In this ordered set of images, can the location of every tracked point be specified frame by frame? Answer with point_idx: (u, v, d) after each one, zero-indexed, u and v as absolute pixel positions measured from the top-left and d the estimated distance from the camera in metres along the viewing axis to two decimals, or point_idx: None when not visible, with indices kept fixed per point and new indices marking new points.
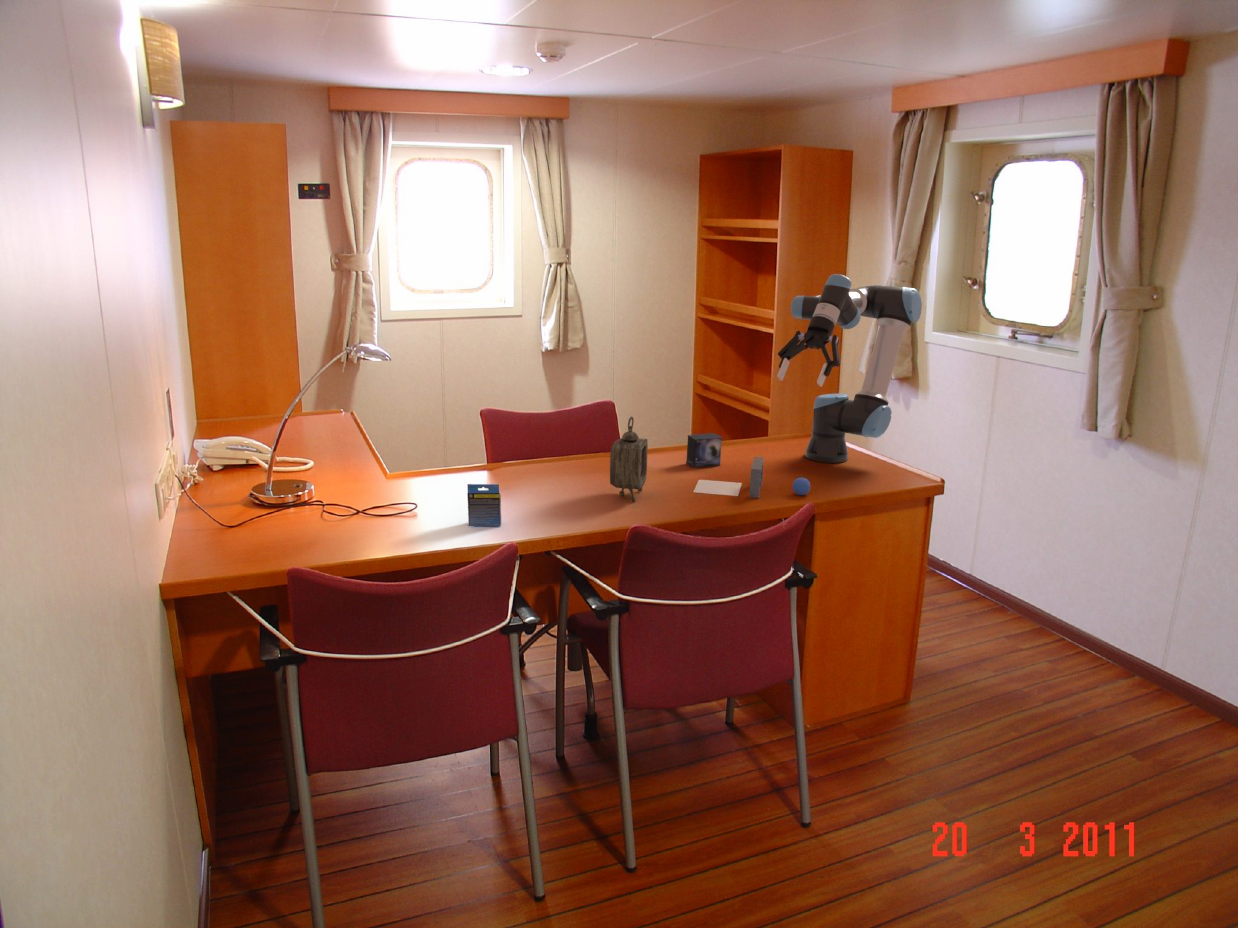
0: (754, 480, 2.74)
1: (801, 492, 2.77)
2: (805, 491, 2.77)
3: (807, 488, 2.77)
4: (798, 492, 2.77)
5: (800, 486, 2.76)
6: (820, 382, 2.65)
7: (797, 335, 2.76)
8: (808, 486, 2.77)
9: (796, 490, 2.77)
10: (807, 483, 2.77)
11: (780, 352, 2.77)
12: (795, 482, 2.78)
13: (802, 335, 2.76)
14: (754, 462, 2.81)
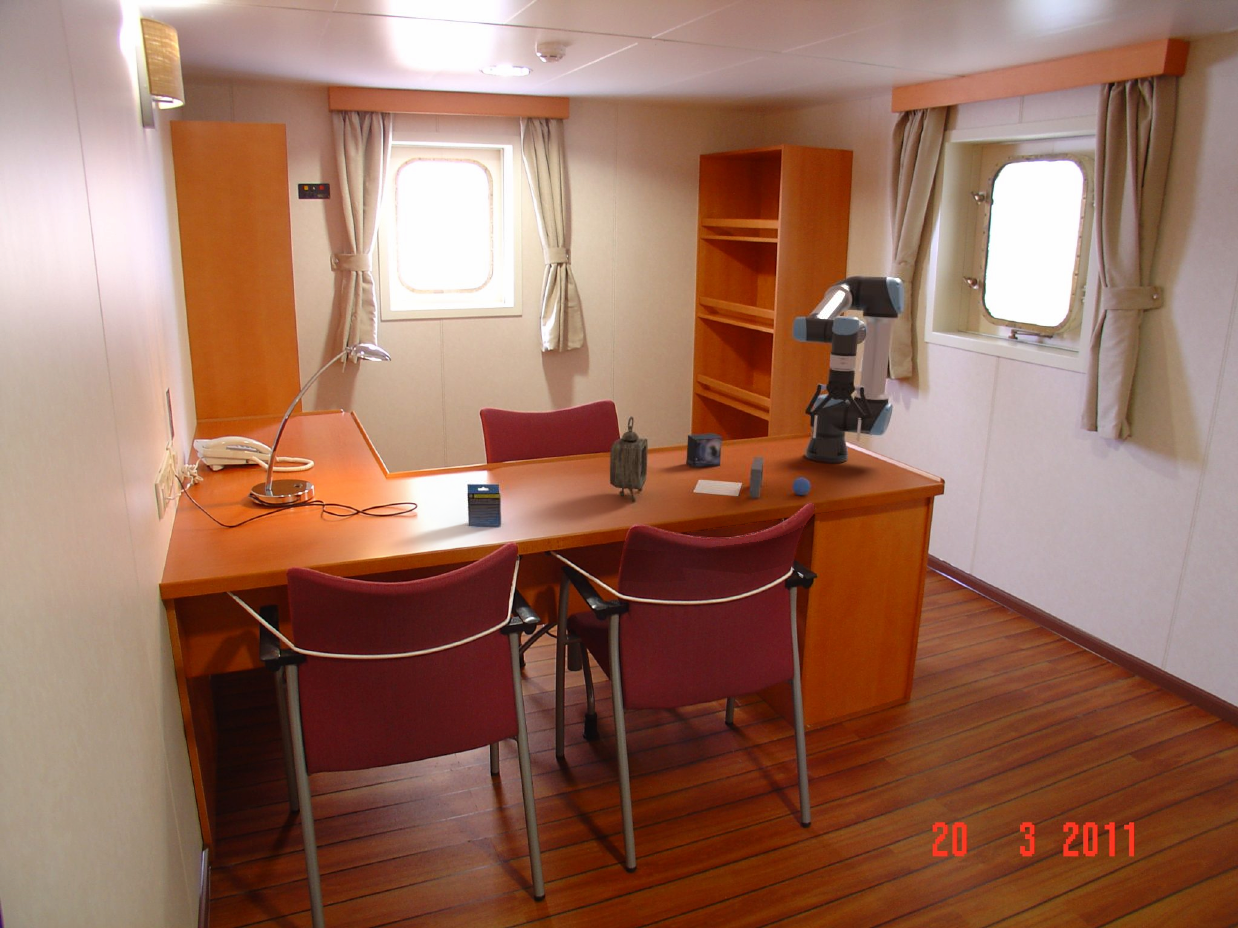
0: (754, 480, 2.74)
1: (801, 492, 2.77)
2: (805, 491, 2.77)
3: (807, 488, 2.77)
4: (798, 492, 2.77)
5: (800, 486, 2.76)
6: None
7: (820, 390, 2.69)
8: (808, 486, 2.77)
9: (796, 490, 2.77)
10: (807, 483, 2.77)
11: (807, 410, 2.71)
12: (795, 482, 2.78)
13: (824, 387, 2.69)
14: (754, 462, 2.81)
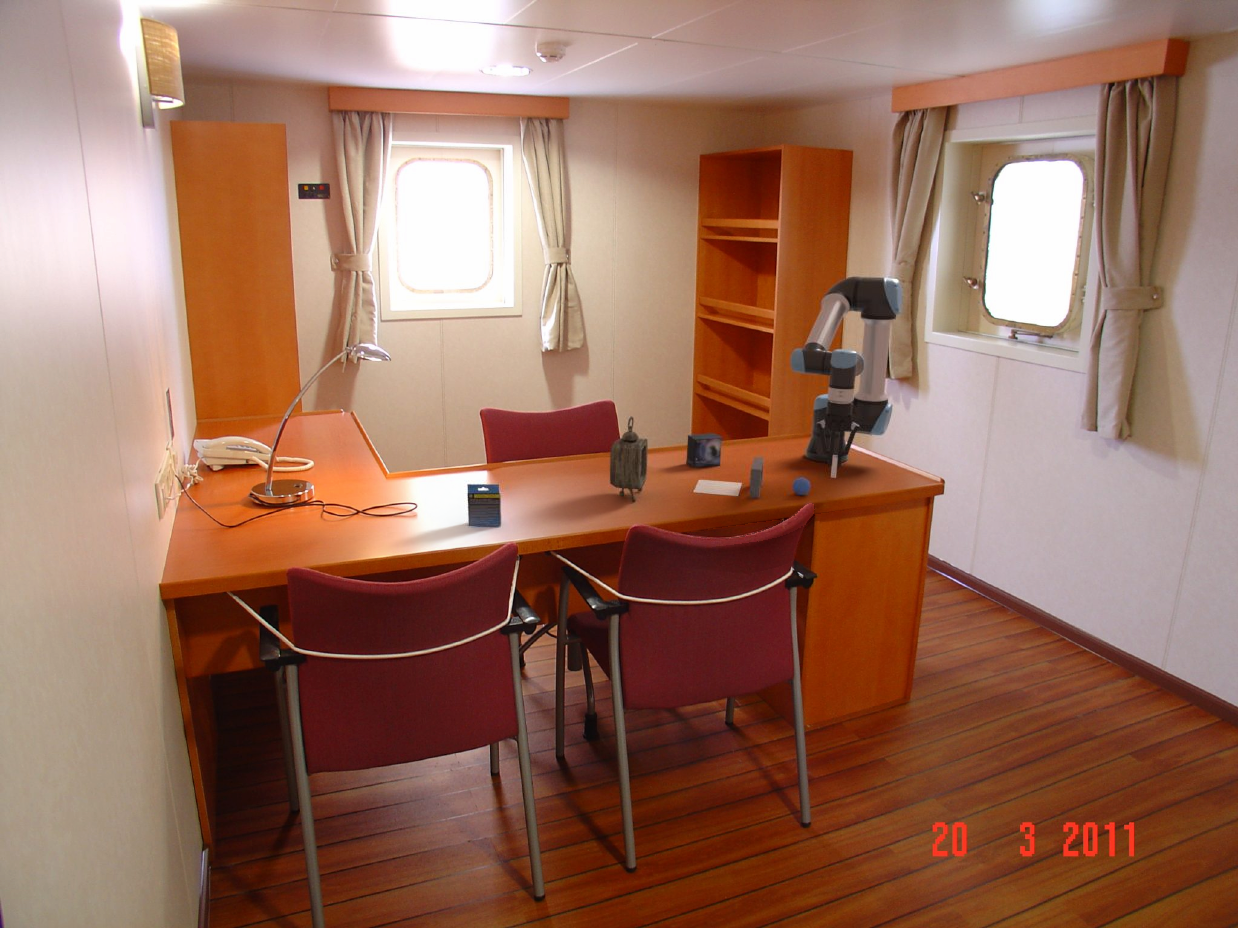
0: (754, 480, 2.74)
1: (801, 492, 2.77)
2: (805, 491, 2.77)
3: (807, 488, 2.77)
4: (798, 492, 2.77)
5: (800, 486, 2.76)
6: None
7: (821, 427, 2.71)
8: (808, 486, 2.77)
9: (796, 490, 2.77)
10: (807, 483, 2.77)
11: (825, 450, 2.73)
12: (795, 482, 2.78)
13: (823, 423, 2.72)
14: (754, 462, 2.81)
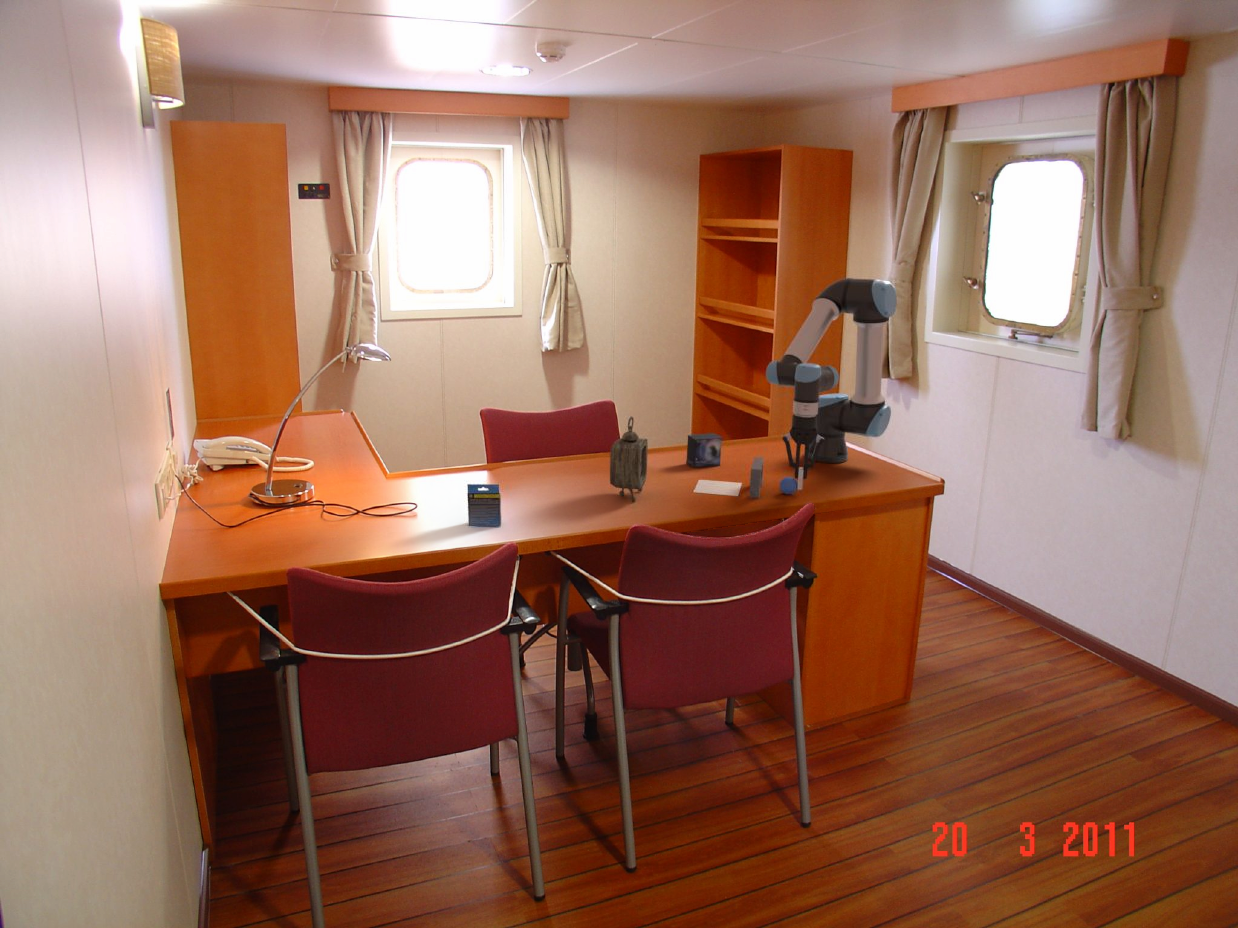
0: (754, 480, 2.74)
1: (791, 490, 2.77)
2: (793, 486, 2.77)
3: (792, 483, 2.77)
4: (789, 492, 2.78)
5: (785, 487, 2.77)
6: None
7: (787, 440, 2.74)
8: (792, 481, 2.77)
9: (787, 492, 2.78)
10: (789, 480, 2.77)
11: (791, 463, 2.76)
12: (780, 487, 2.79)
13: (789, 436, 2.75)
14: (754, 462, 2.81)
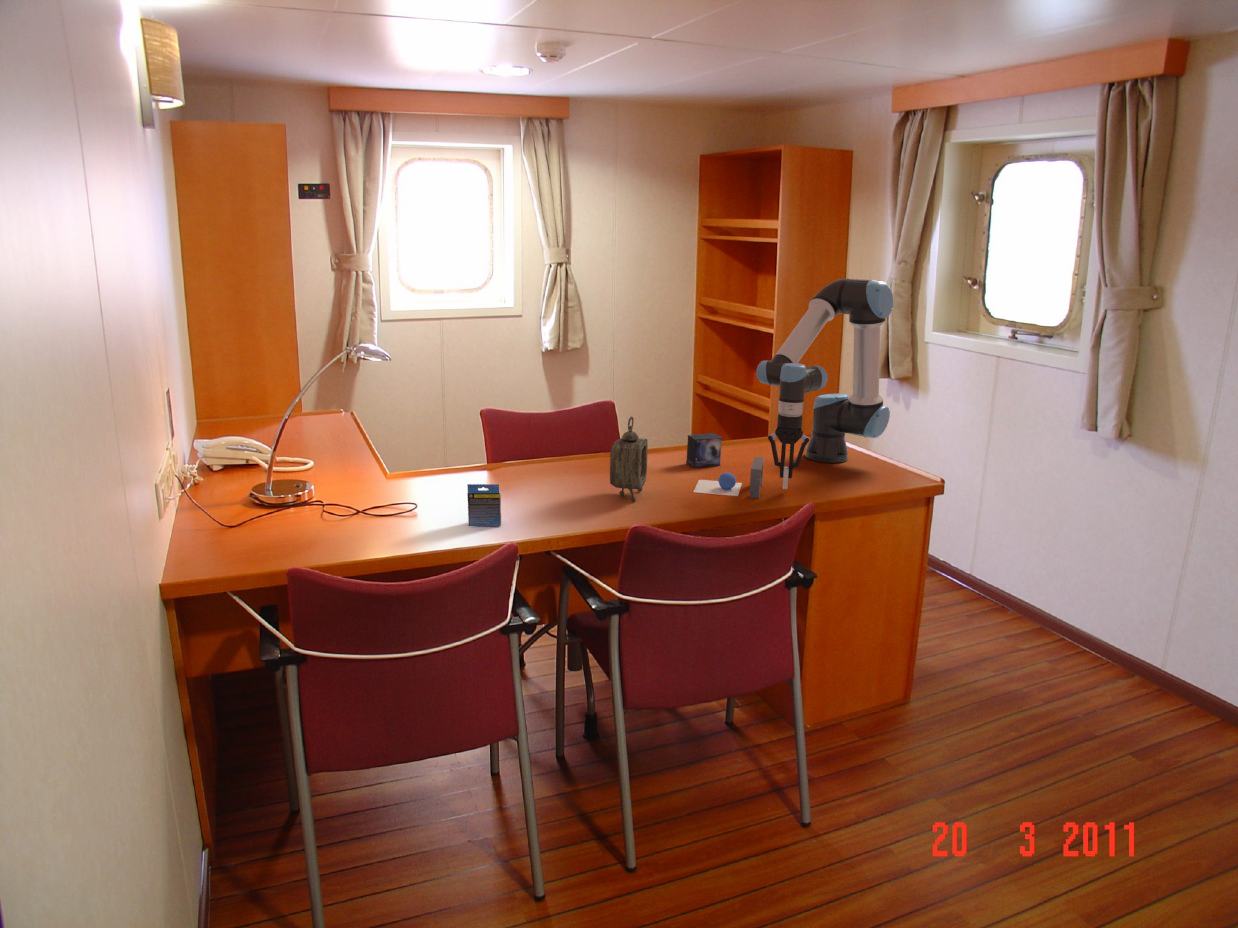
0: (754, 480, 2.74)
1: (730, 484, 2.81)
2: (730, 480, 2.81)
3: (728, 477, 2.81)
4: (730, 486, 2.81)
5: (723, 483, 2.81)
6: (787, 486, 2.79)
7: (772, 440, 2.76)
8: (727, 475, 2.81)
9: (727, 488, 2.81)
10: (723, 476, 2.81)
11: (776, 462, 2.77)
12: (720, 486, 2.83)
13: (774, 435, 2.76)
14: (754, 462, 2.81)
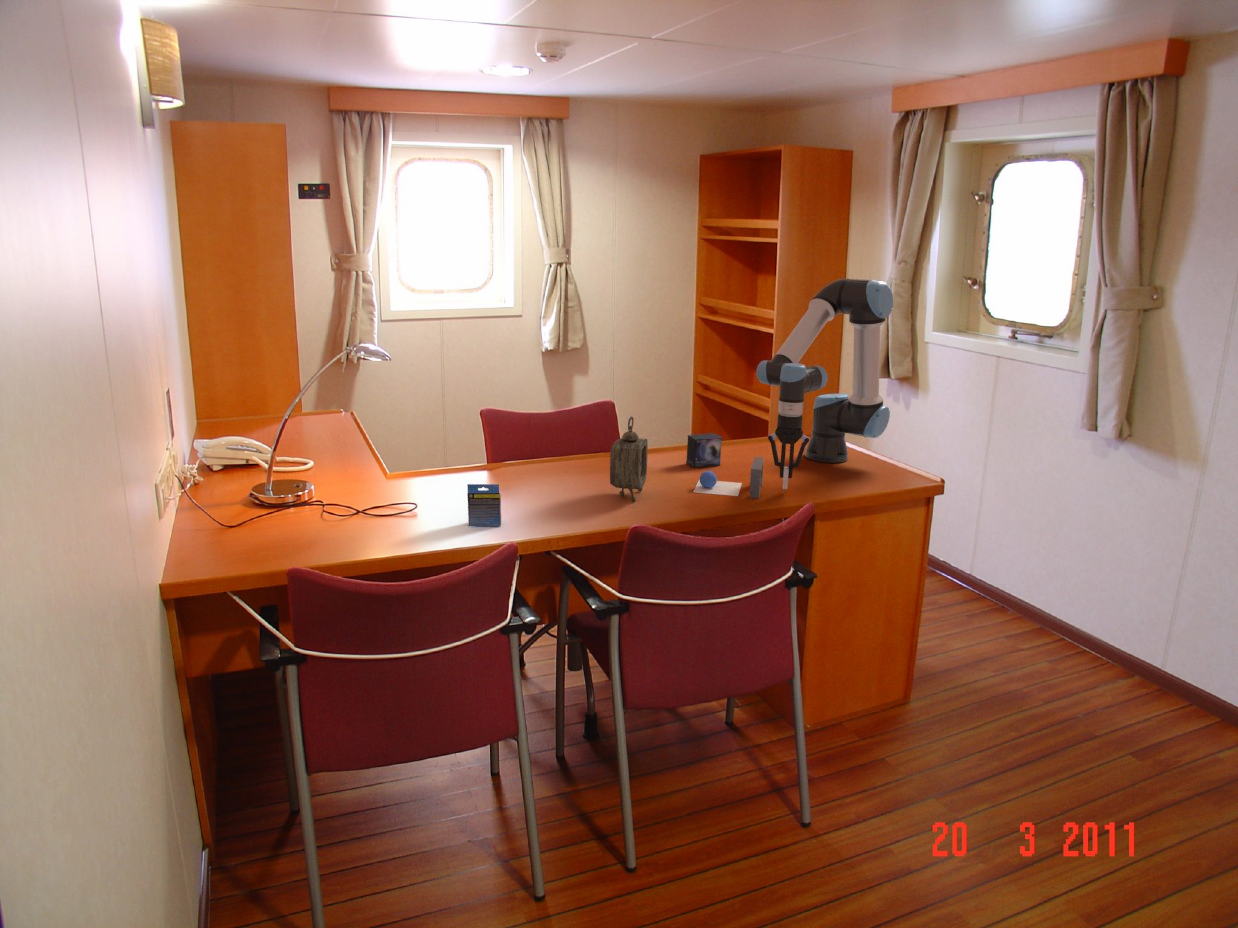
0: (754, 480, 2.74)
1: (705, 477, 2.82)
2: (702, 479, 2.82)
3: (702, 482, 2.83)
4: (708, 476, 2.82)
5: (709, 483, 2.82)
6: (787, 486, 2.79)
7: (772, 440, 2.76)
8: (702, 484, 2.83)
9: (711, 477, 2.82)
10: (704, 486, 2.83)
11: (776, 462, 2.77)
12: (715, 483, 2.83)
13: (774, 435, 2.76)
14: (754, 462, 2.81)
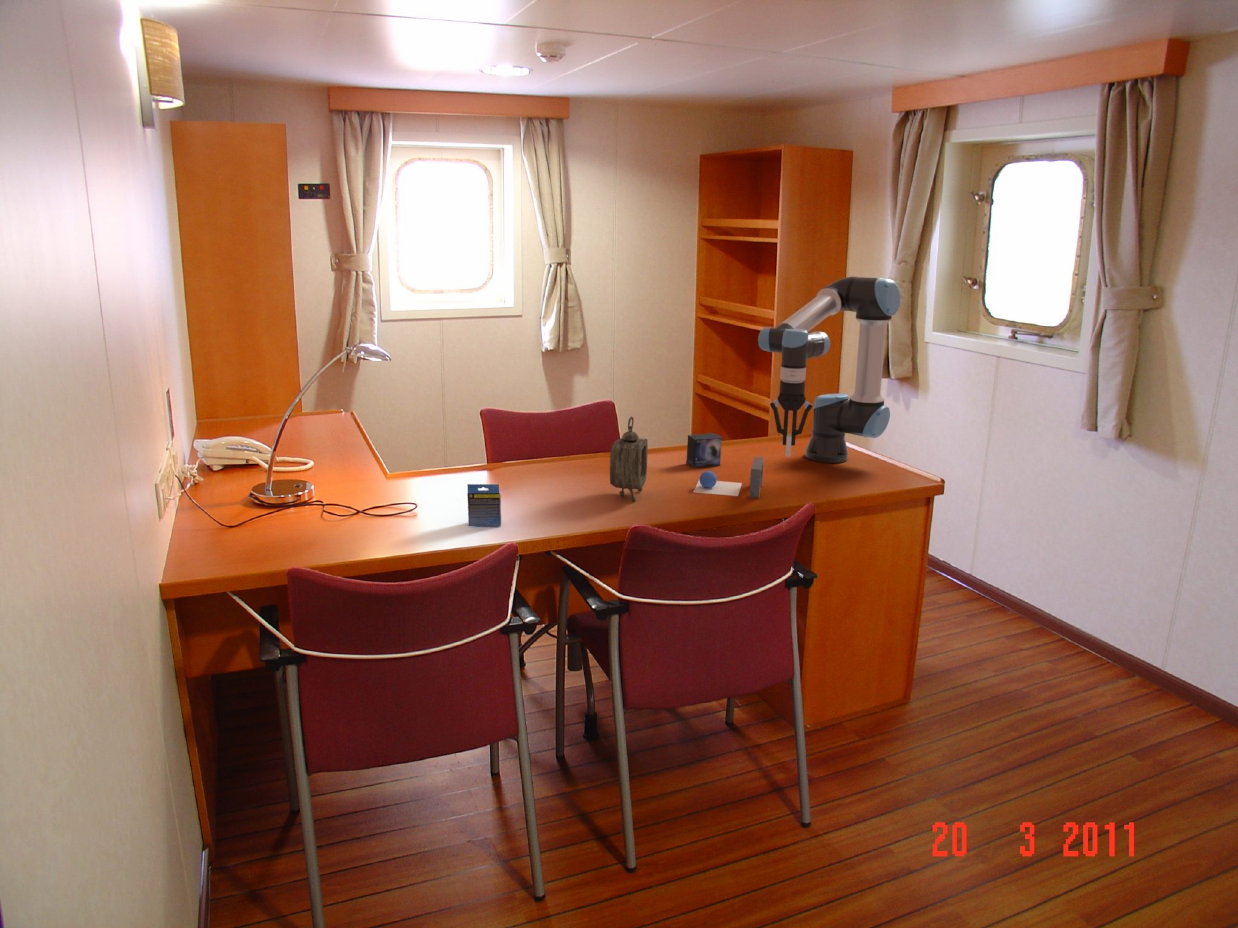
0: (754, 480, 2.74)
1: (705, 477, 2.82)
2: (702, 479, 2.82)
3: (702, 482, 2.83)
4: (708, 476, 2.82)
5: (709, 483, 2.82)
6: (790, 454, 2.77)
7: (774, 407, 2.73)
8: (702, 484, 2.83)
9: (711, 477, 2.82)
10: (704, 486, 2.83)
11: (778, 429, 2.75)
12: (715, 482, 2.83)
13: (776, 402, 2.73)
14: (754, 462, 2.81)
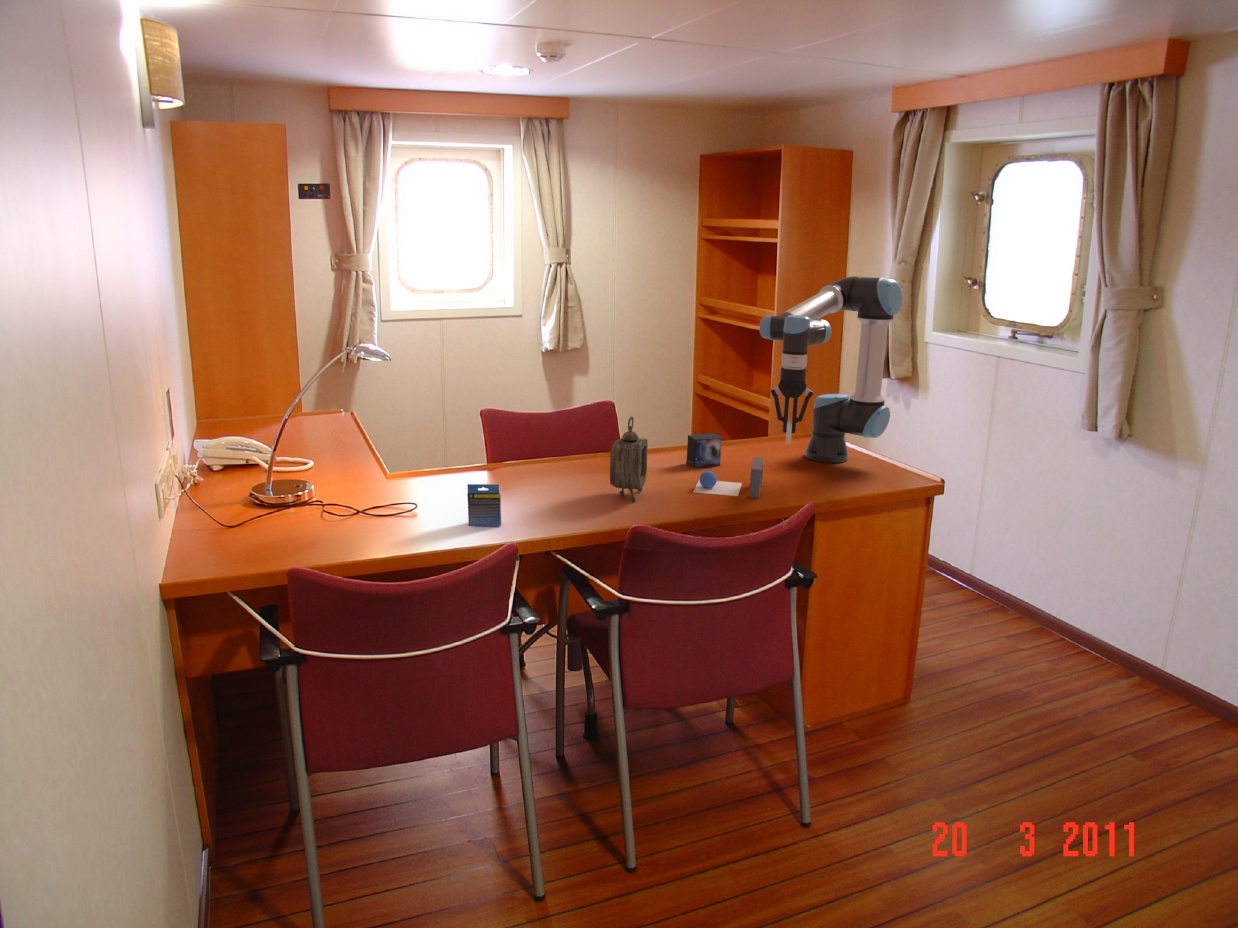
0: (754, 480, 2.74)
1: (705, 477, 2.82)
2: (702, 479, 2.82)
3: (702, 482, 2.83)
4: (708, 476, 2.82)
5: (709, 483, 2.82)
6: (790, 441, 2.75)
7: (775, 393, 2.72)
8: (702, 484, 2.83)
9: (711, 477, 2.82)
10: (704, 486, 2.83)
11: (779, 417, 2.73)
12: (715, 482, 2.83)
13: (777, 389, 2.72)
14: (754, 462, 2.81)
